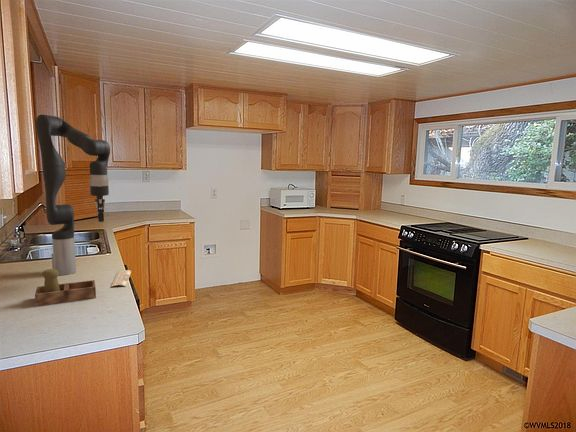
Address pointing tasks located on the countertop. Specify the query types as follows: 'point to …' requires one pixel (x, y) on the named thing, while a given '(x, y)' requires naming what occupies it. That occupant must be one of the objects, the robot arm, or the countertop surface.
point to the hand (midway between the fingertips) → (100, 220)
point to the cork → (51, 280)
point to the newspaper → (121, 278)
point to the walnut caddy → (66, 293)
